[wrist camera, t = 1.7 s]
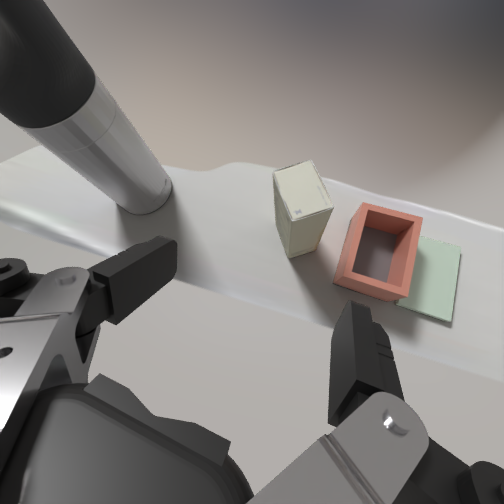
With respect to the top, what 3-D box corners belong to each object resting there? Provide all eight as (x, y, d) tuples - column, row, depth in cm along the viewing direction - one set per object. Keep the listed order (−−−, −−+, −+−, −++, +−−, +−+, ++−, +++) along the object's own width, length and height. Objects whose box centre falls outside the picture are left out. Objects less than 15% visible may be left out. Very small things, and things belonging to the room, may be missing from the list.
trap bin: (332, 283, 31) (342, 275, 26) (350, 219, 34) (362, 202, 29) (386, 301, 30) (407, 296, 25) (401, 233, 32) (422, 217, 28)
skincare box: (316, 250, 33) (337, 209, 21) (286, 259, 33) (291, 223, 21) (301, 213, 35) (313, 157, 23) (273, 221, 35) (271, 170, 23)
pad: (395, 304, 30) (398, 303, 29) (408, 235, 32) (412, 233, 31) (446, 321, 28) (451, 321, 28) (456, 248, 31) (461, 247, 30)
